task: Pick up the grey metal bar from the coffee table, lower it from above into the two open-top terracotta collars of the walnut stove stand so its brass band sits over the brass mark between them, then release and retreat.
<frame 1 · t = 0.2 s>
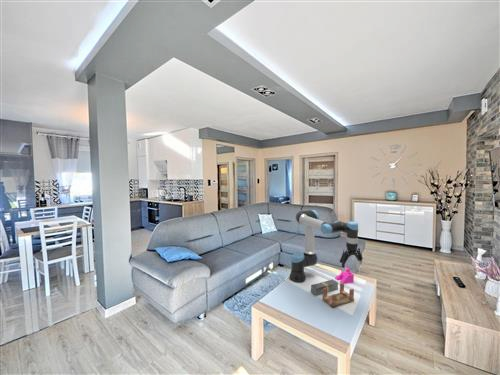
hand: (351, 270, 158), 27 cm above the table, tool pointing down, fingers open, 13 cm apart
bracket: (344, 280, 196), on the table
stove stand: (338, 300, 166), on the table
grey metal bar: (324, 290, 179), on the table
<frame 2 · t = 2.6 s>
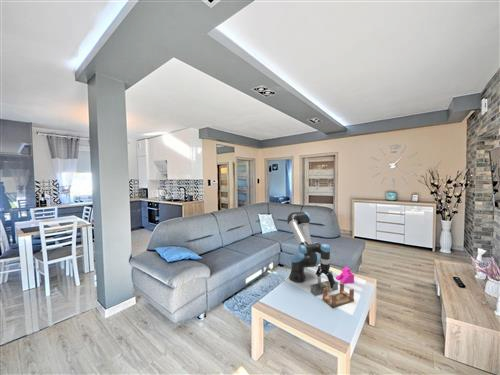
hand: (324, 287, 179), 3 cm above the table, tool pointing down, fingers open, 13 cm apart
nothing on the table moved.
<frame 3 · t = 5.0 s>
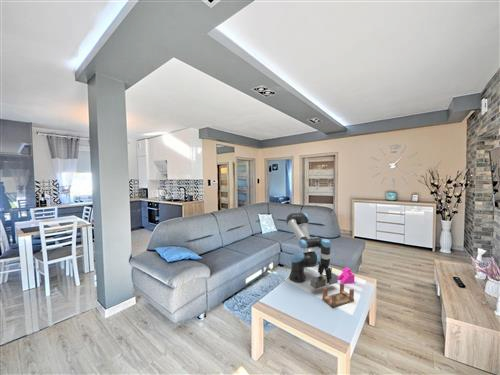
hand: (324, 283, 180), 6 cm above the table, tool pointing down, fingers closed on grey metal bar, 6 cm apart
grey metal bar: (324, 283, 180), point 6 cm above the table, touching gripper
everything else where it was.
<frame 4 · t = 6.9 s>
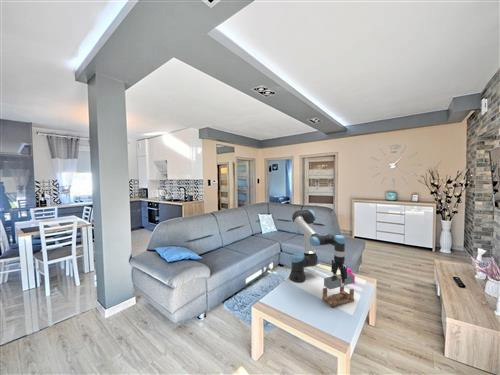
hand: (338, 284, 164), 14 cm above the table, tool pointing down, fingers closed on grey metal bar, 6 cm apart
grey metal bar: (338, 284, 164), point 13 cm above the table, touching gripper
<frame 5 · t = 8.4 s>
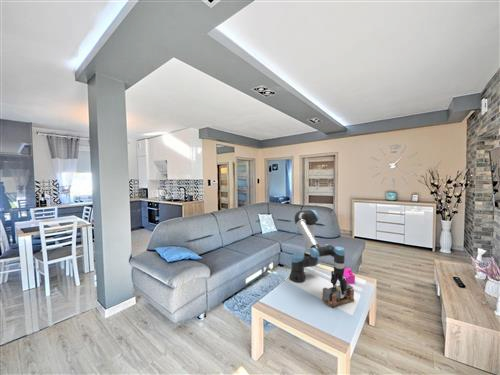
hand: (338, 295, 165), 4 cm above the table, tool pointing down, fingers closed on grey metal bar, 6 cm apart
grey metal bar: (338, 295, 165), point 4 cm above the table, touching gripper
when the fingers open (4 cm above the table, at t = 9.2 s): grey metal bar stays where it is, resting on stove stand.
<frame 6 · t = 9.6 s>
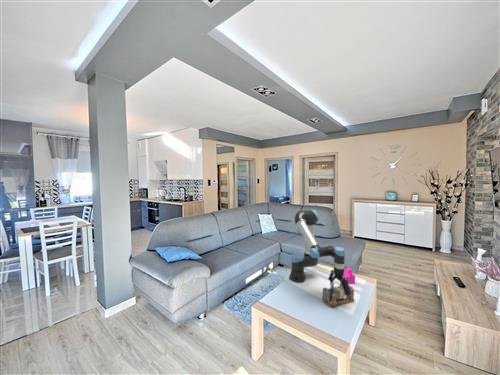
hand: (338, 293, 165), 5 cm above the table, tool pointing down, fingers open, 12 cm apart
grey metal bar: (338, 296, 165), point 3 cm above the table, touching stove stand
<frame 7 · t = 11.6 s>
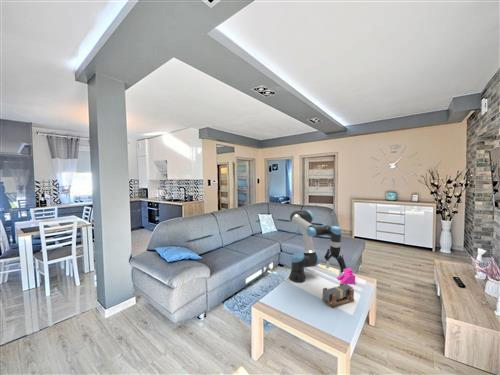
hand: (334, 271, 168), 22 cm above the table, tool pointing down, fingers open, 13 cm apart
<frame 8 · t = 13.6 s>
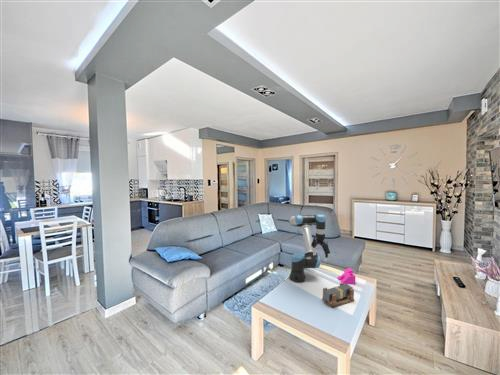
hand: (319, 257, 178), 29 cm above the table, tool pointing down, fingers open, 13 cm apart
at the end: grey metal bar 0.0 cm off-centre on the stove stand, point 3.5 cm above the stove stand's base; grey metal bar touching stove stand; the gripper is holding nothing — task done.
